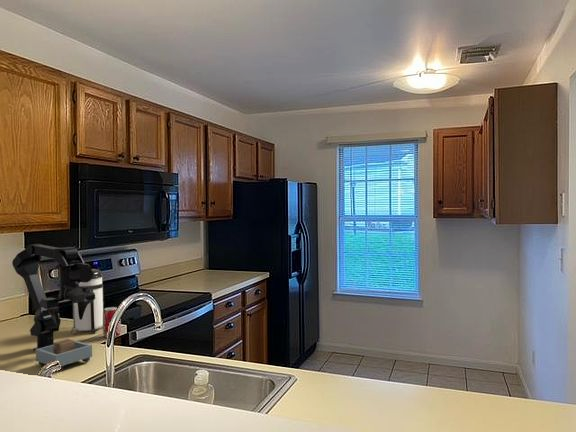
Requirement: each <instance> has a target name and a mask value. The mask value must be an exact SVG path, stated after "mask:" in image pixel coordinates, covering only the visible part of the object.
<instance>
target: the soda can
mask: <svg viewBox="0 0 576 432" xmlns="http://www.w3.org/2000/svg"><path fill="white" fill-rule="evenodd" d="M117 307H118V306H110V307H109V306H108V307H104V309H103V325H102V333H103V337H105V338H106V339H108V338H107V332H108V326H109V323H110V320H111V318H112V316H113V314H114V312H115V311H116V309H117ZM121 331H122V319H120V321H119V323H118V327H117V330H116V336H115V338H117V337H119V336H120V335H121Z"/></svg>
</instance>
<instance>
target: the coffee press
mask: <svg viewBox="0 0 576 432" xmlns="http://www.w3.org/2000/svg"><path fill="white" fill-rule="evenodd" d="M87 264H88V267H89V268H91V265H90V264H89V263H87ZM91 269H92V272H93V277H92V279H91V280H90V281H89V282H76V283H78V284H79V288H80V289H82V288H85V287H88V288H90V292H94V293H95V299H94V300H92V302H90V303H89V304H88V305H87V307H86V309H85V312H84V315H83V318H82V319H81V320H80V319H79V313H78V303H72V323H73V325H72V329H71V330H70V333H71V334H72V335H75V334H76V333H77V332H78V331H80V332H84V331H85V332H86V331H90V334H91V335H96V330H97V329H100V328H103V312H104V309H105V293H104V292H105V290H104V289H105V288H104V284H103V283H104V282H103V277H104V274H102V271H101V270H100V269H96V268H91ZM74 329H75V330H74ZM73 331H74V332H73Z"/></svg>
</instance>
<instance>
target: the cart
mask: <svg viewBox="0 0 576 432" xmlns="http://www.w3.org/2000/svg"><path fill="white" fill-rule="evenodd" d="M73 340H74V339H73ZM74 341H75V349H74V350H71V351H67V352H64V353H60V354H54V350H53V345H50V346H46V347H43V348H39V349H36V350H35V361H36V362H38V365H39V366H42V367H43V365H44V366H45V365H47V363H49V362H51V361H54V360H58V361H59V363H60V365H61V369H60V370H58V371H57V372H61V370H62V369H63V367H64V366H66V365H70V364H73V363H76V362H79V361H82V362H83V363H88V362H89V361H90V359H91V358H92V357H93V345H92V344H89V343H86V342H82V341H78V340H74Z"/></svg>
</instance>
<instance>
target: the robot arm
mask: <svg viewBox="0 0 576 432" xmlns="http://www.w3.org/2000/svg"><path fill="white" fill-rule="evenodd" d="M42 257H43V258H49V259H53V262H56V263H58V264H57V265H55V269H56V270H58V275H59V276H58V277H59V278H58V279H59V283H57V288H59V293H58V294H57V298H56V297H47V296H46V293H45V291H44V288H43V284H42V283H41V281H40V277H39V275H38V271H39V268H40V264H39V262H40V261H41V260H42ZM88 264H89V263H85V261H84V259H83V257H82V255H81V253H80V251H79V250H78V248H77V247H76V246H71V247H69V246H68V247H55V246H52V245H51V246H50V245H45V244H41V243H34V244H33V243H32V244H28V245H27V246H26V247H25V249H22V250H21V251H20V252H19V253H17V254H16V256H15V257H14V258H13V260H12V267H13V268H14V271H15V272H16V274H17V275H18V276H20V277H22V279H23V280H24V283H25V287H26V288H27V291H28V294H29V297H30V299H31V302H32V305H33V307H34V310H35V313H34V317H33V321H34V323H33V325H32V327H31V328H30V330H29V332H30V336H32V337H36V347H33V348H32V350H33V351H36V349H39V348H43V347H46V346H50V345H53V342H55V341H54V333H55V332H59V330H60V325H61V322H62V321H61V315H60V313H59V310H60V307H59V304H64V303H70V302H71V303H72V304H73V303H78V313H79V319H80V320H81V319H82V318H83V315H84V312H85V309H86V307H87V305H88V304H89V303H90V302H92V300H94V299H95V293H94V292H90V288H88V287H85V288H82V289H80V288H79V284H78V283H76V282H89V281H90V280H91V279H92V277H93V272H92V269H93V268H91V267H90V268H89V267H88Z"/></svg>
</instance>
